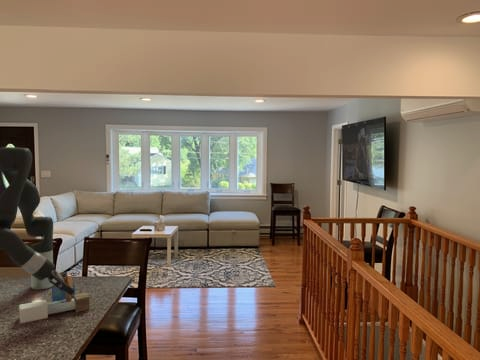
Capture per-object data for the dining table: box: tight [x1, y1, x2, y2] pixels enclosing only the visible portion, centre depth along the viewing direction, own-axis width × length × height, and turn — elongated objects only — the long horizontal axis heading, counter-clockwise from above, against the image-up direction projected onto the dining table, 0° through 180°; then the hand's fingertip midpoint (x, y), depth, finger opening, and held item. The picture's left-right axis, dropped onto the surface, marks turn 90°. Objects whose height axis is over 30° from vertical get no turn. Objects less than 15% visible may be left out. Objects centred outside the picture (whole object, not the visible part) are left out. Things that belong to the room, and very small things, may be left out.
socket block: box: [74, 292, 90, 313], centre depth 147 cm, size 5×5×5 cm
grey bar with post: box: [47, 274, 76, 315], centre depth 143 cm, size 3×16×13 cm, turn 123°
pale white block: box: [18, 299, 49, 324], centre depth 138 cm, size 5×9×5 cm, turn 123°
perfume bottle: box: [51, 271, 76, 302], centre depth 155 cm, size 6×6×12 cm
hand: (71, 289), depth 145 cm, fingers open, 8 cm apart
